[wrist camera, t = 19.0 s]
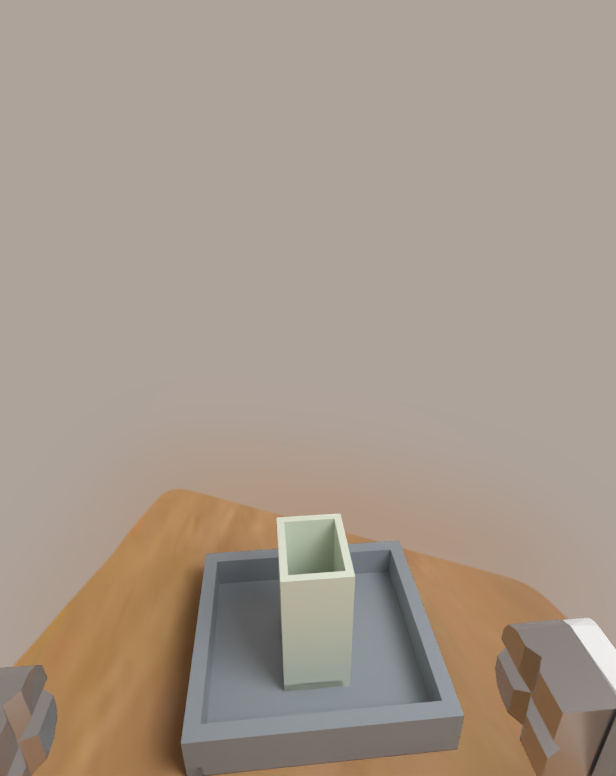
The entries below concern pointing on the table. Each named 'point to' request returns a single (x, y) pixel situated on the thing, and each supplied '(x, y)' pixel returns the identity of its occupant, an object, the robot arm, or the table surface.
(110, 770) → the table surface
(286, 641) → the small tall open container
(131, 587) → the table surface
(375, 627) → the grey tray
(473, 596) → the table surface
